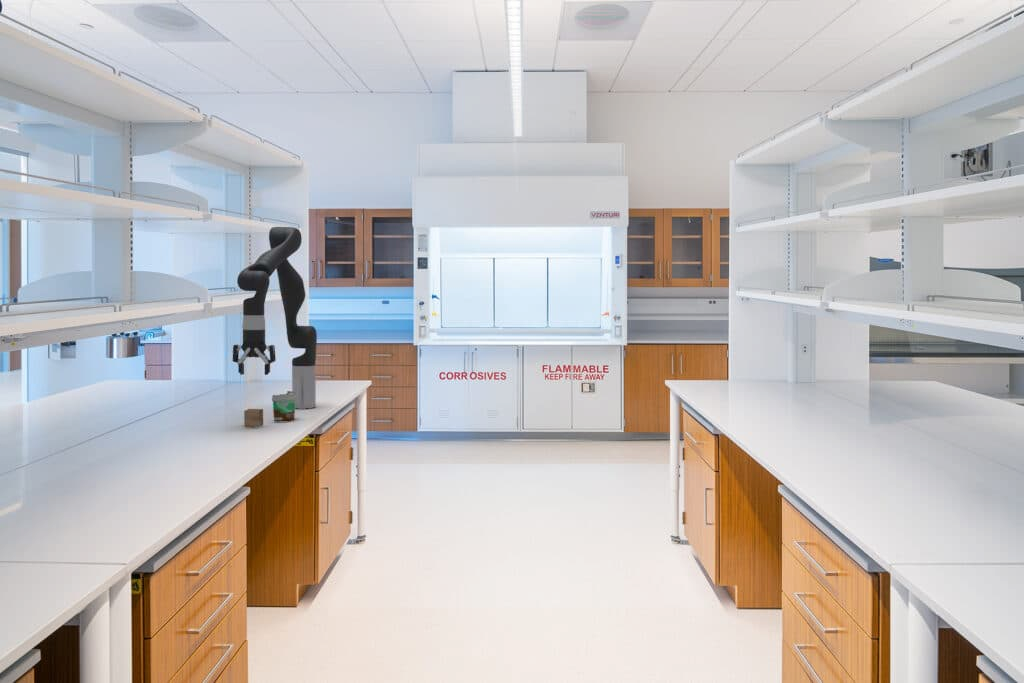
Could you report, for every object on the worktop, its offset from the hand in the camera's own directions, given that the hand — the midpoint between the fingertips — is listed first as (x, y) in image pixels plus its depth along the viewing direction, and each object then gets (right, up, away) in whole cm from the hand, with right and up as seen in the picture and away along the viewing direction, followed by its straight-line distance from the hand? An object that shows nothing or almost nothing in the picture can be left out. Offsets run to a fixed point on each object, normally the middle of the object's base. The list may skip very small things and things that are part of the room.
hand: (254, 374), depth 275 cm
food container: (+7, -18, +15) cm, 25 cm away
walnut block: (-1, -19, +1) cm, 19 cm away
